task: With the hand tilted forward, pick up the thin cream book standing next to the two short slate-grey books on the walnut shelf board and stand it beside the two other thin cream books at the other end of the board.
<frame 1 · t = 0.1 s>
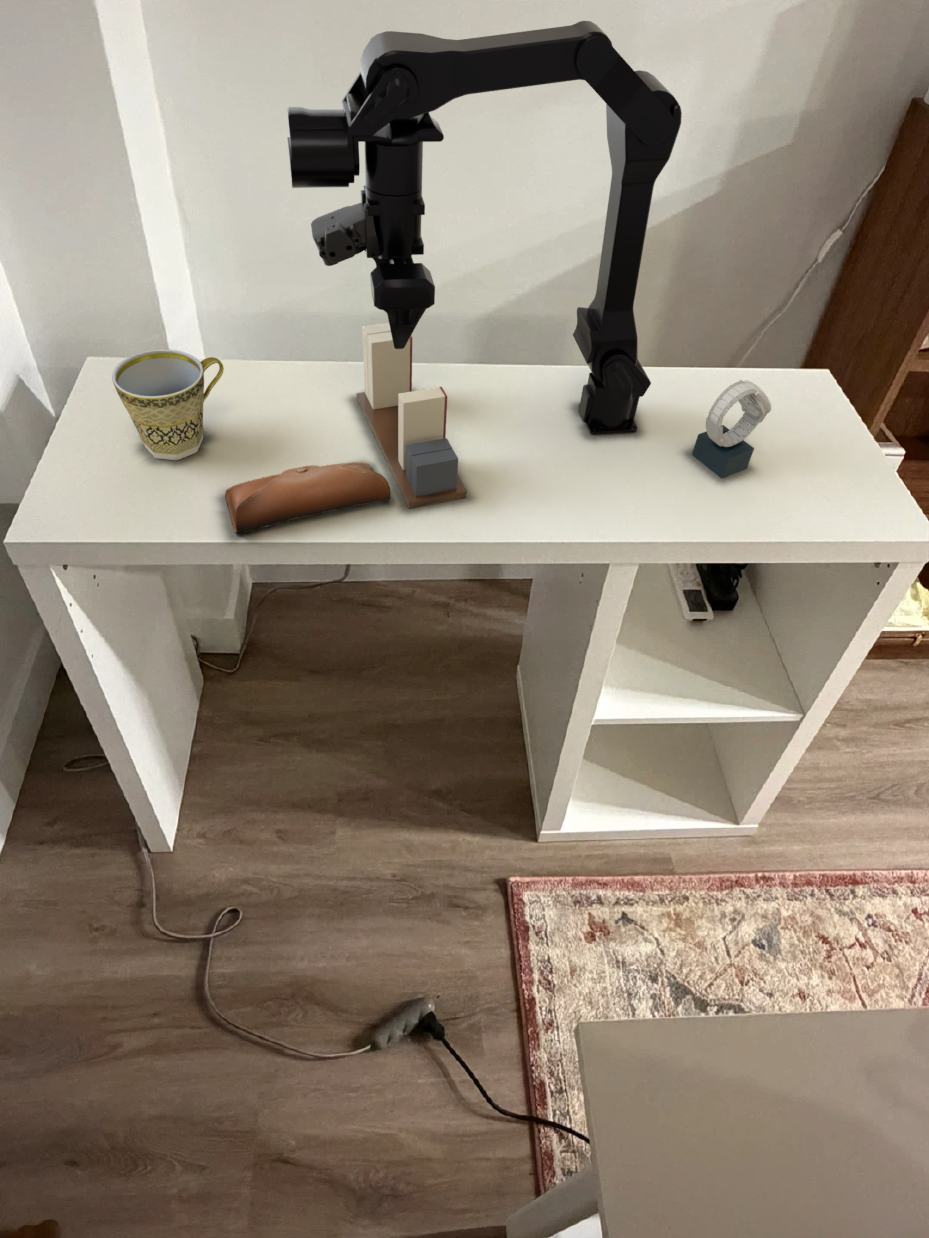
hand: (394, 326, 98), 15 cm above the table, tool pointing down, fingers open, 9 cm apart
white book: (420, 462, 104), point 1 cm above the table, touching shelf board
sunglasses case: (306, 501, 100), on the table
ceramic cup: (186, 441, 106), on the table
white books: (387, 404, 113), resting on shelf board
grey books: (430, 489, 102), resting on shelf board
shelf board: (408, 446, 108), on the table
watch: (719, 462, 109), on the table
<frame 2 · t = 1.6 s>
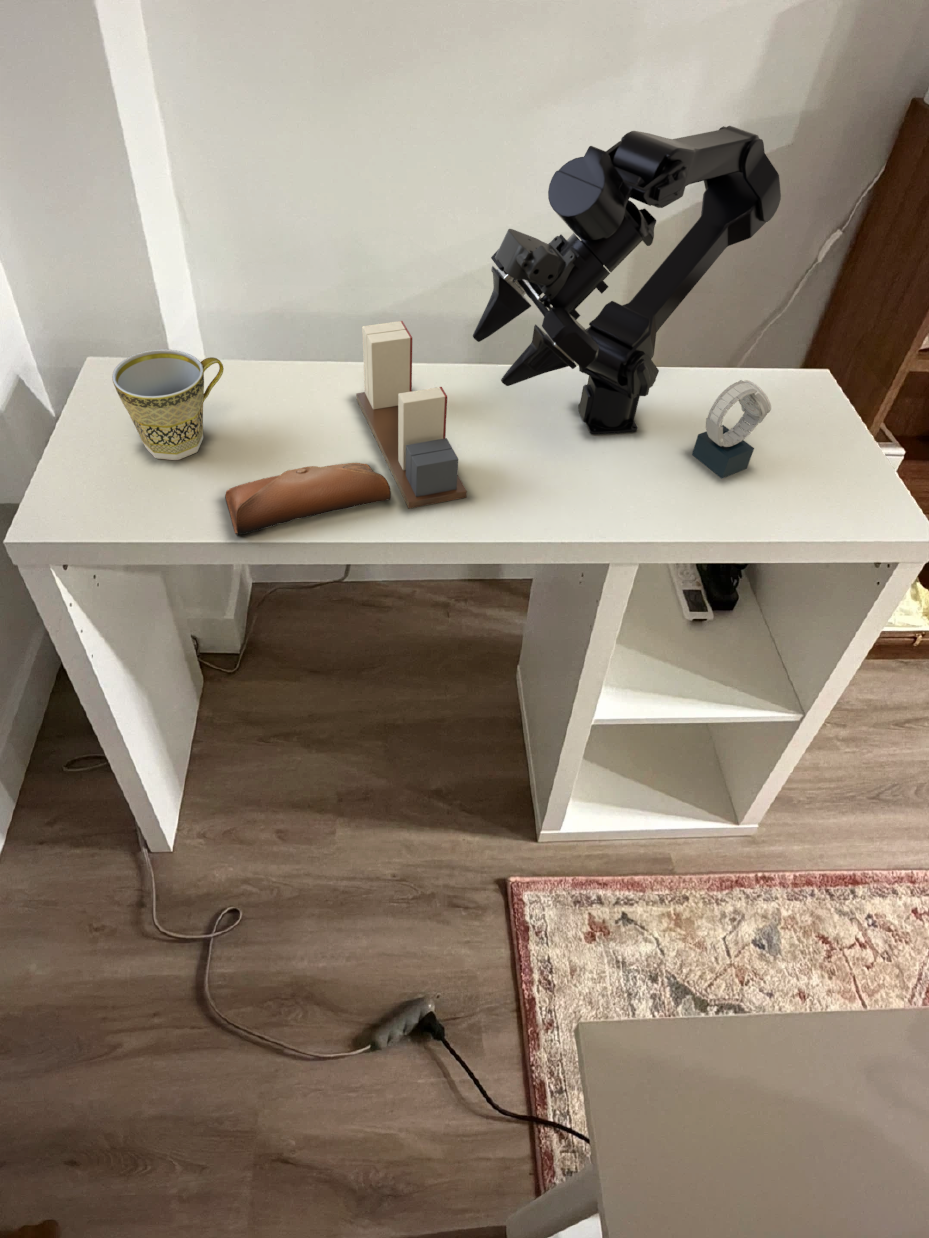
hand: (489, 360, 97), 13 cm above the table, tool tilted 45°, fingers open, 9 cm apart
nothing on the table moved.
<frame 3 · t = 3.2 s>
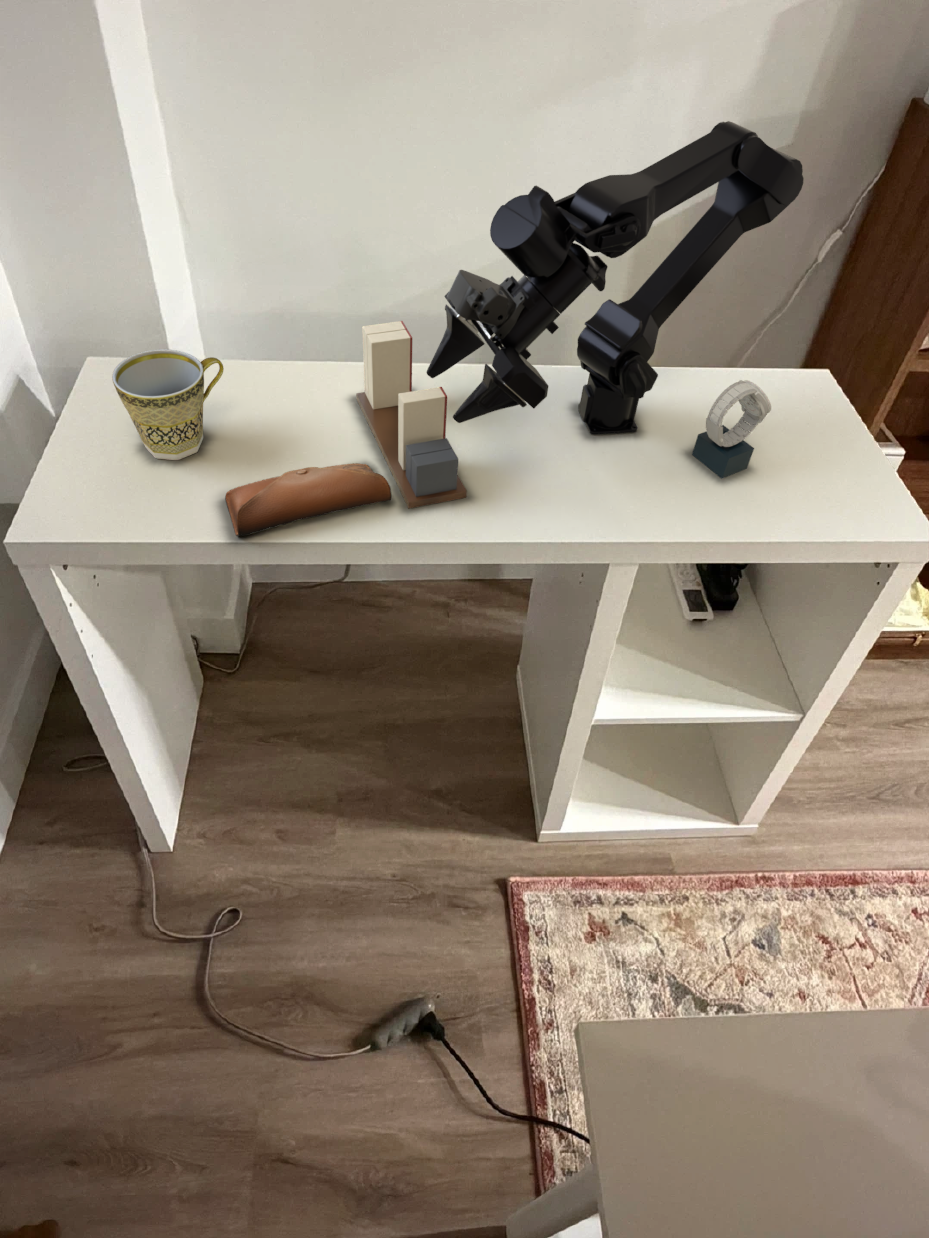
hand: (441, 397, 98), 10 cm above the table, tool tilted 45°, fingers open, 9 cm apart
nothing on the table moved.
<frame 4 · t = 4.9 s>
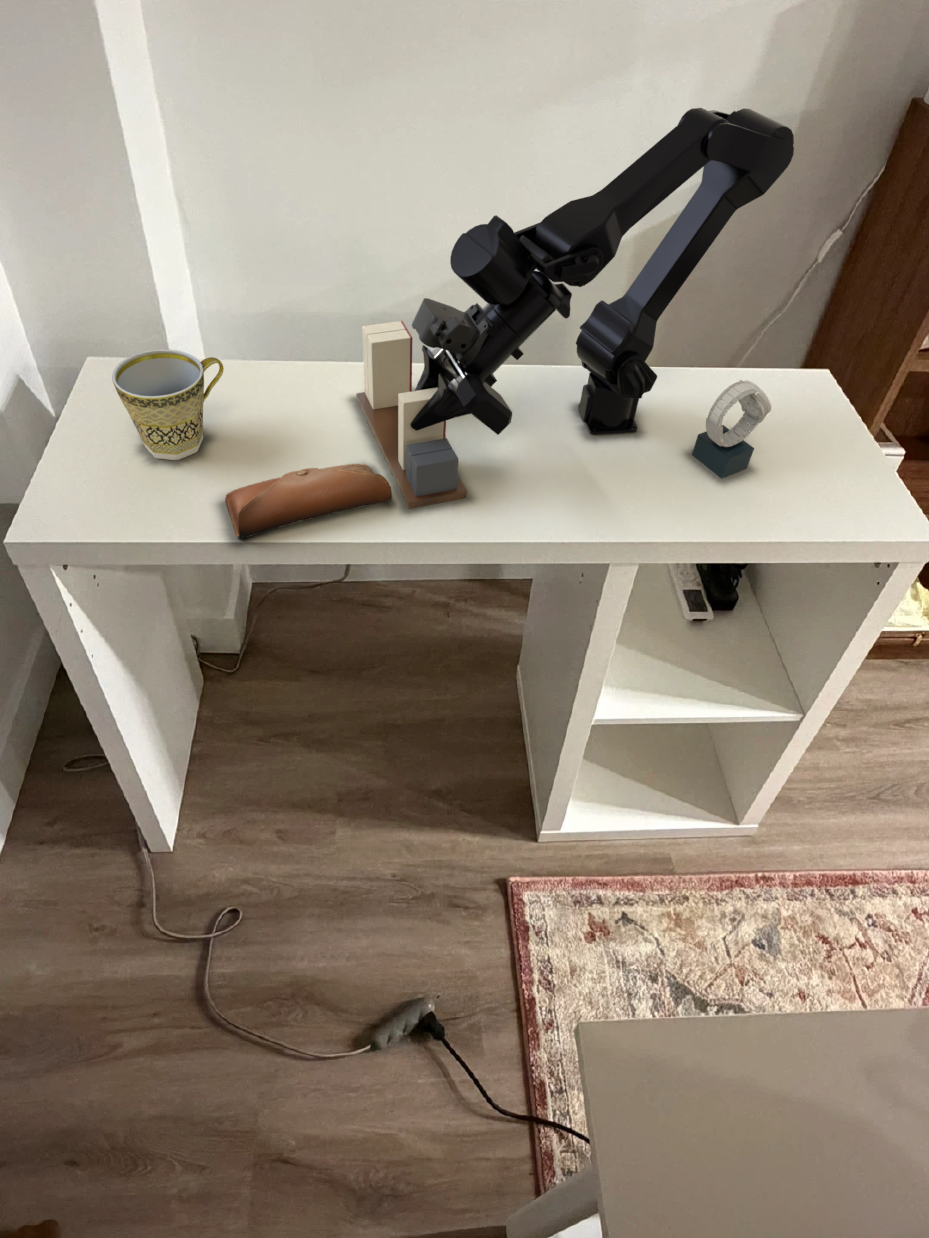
hand: (409, 422, 99), 7 cm above the table, tool tilted 45°, fingers closed on white book, 2 cm apart
white book: (420, 462, 104), point 1 cm above the table, touching gripper, shelf board
everything else where it was.
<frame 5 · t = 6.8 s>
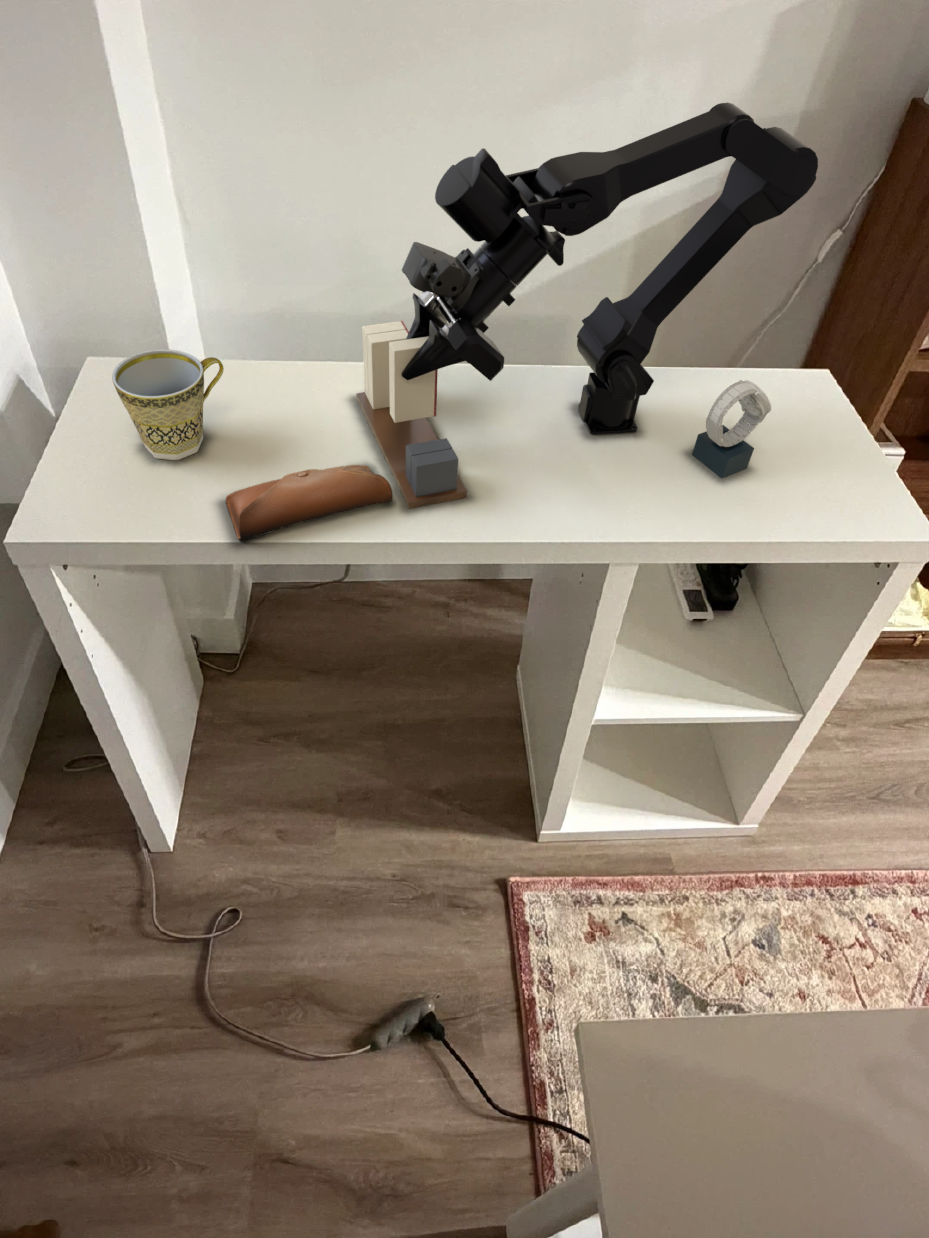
hand: (400, 372, 98), 11 cm above the table, tool tilted 45°, fingers closed on white book
white book: (412, 415, 103), point 5 cm above the table, touching gripper
everything else where it was.
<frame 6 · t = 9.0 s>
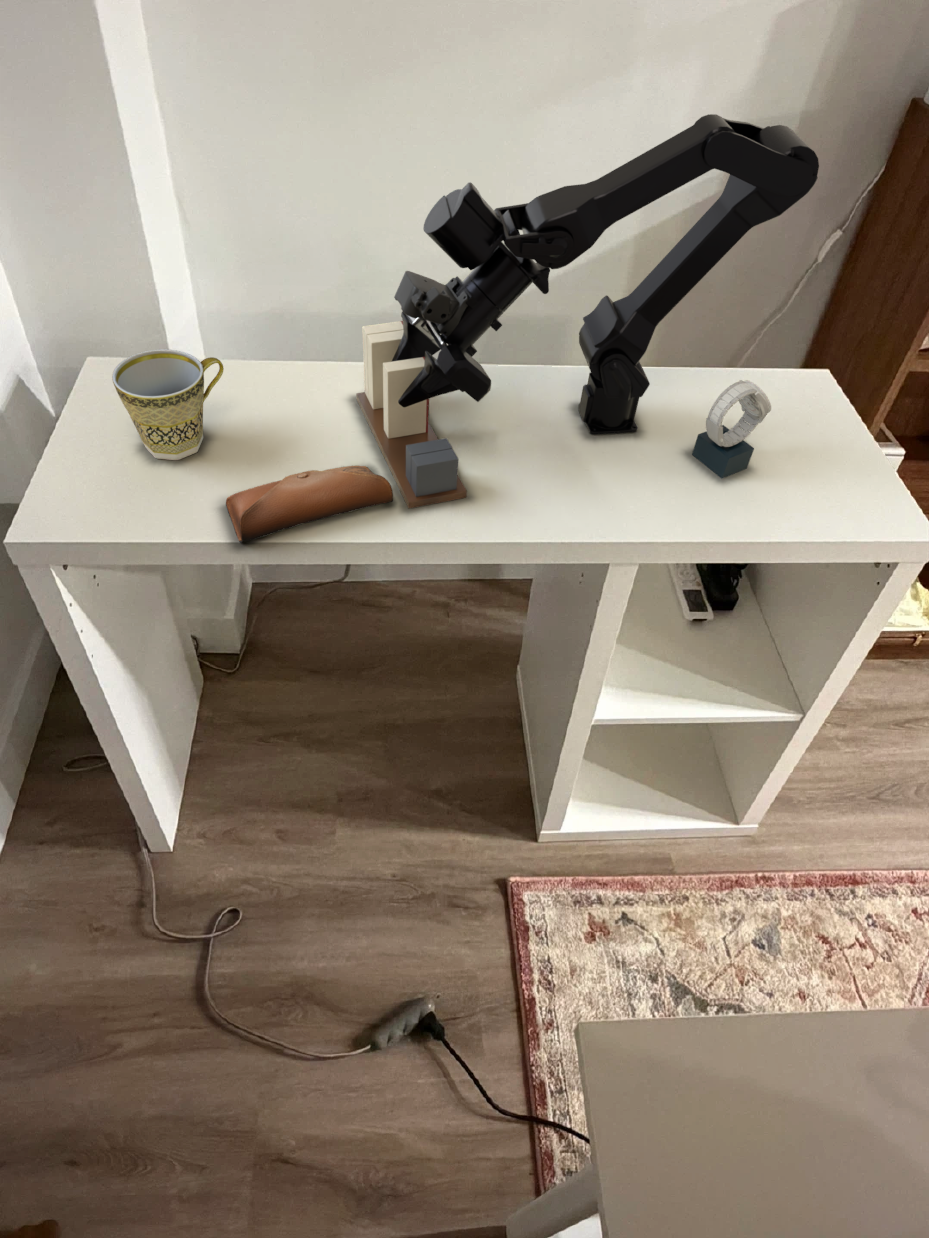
hand: (393, 392, 103), 7 cm above the table, tool tilted 45°, fingers open, 5 cm apart
white book: (405, 431, 108), point 1 cm above the table, touching shelf board
everything else where it was.
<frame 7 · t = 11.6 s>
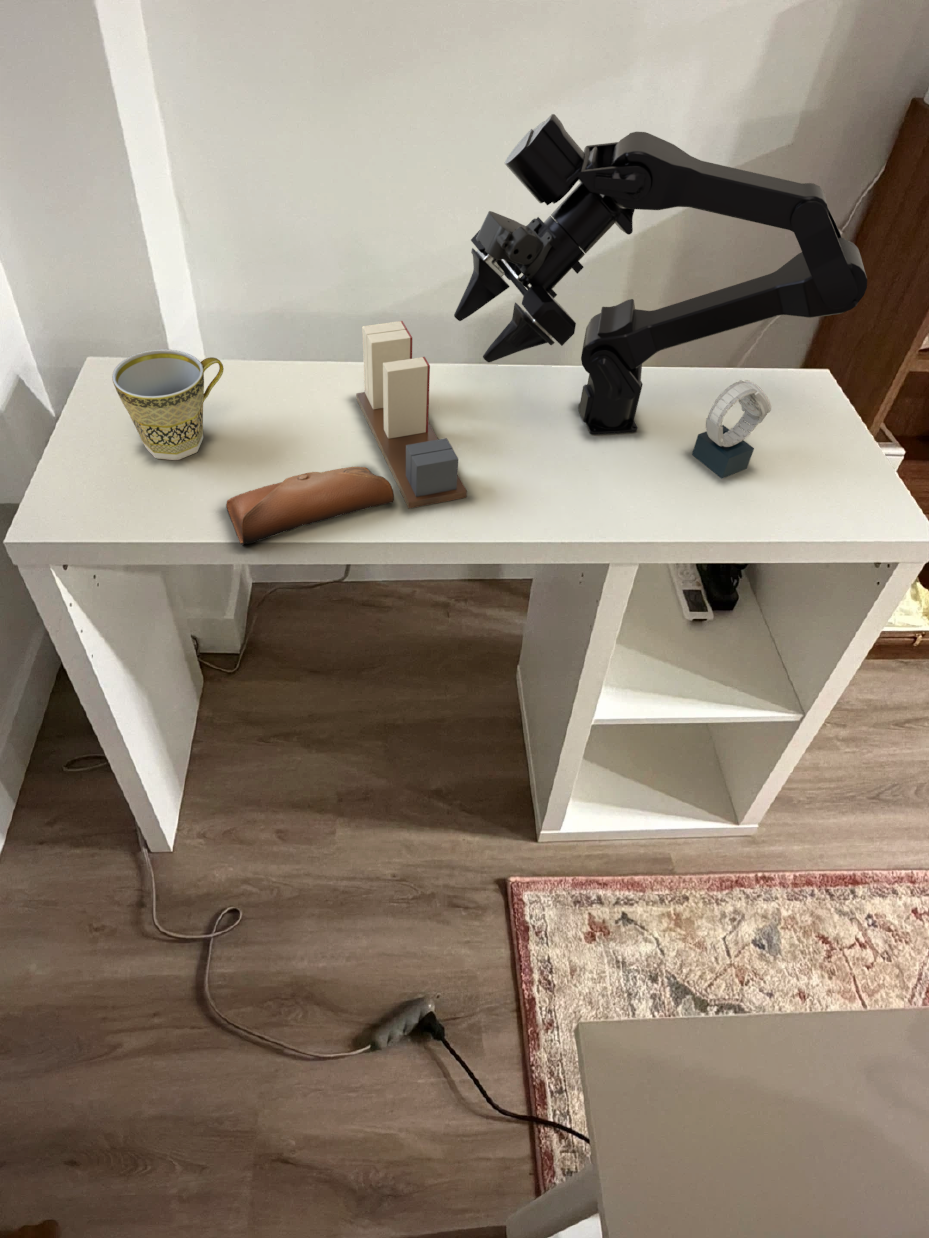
hand: (470, 338, 102), 13 cm above the table, tool tilted 45°, fingers open, 9 cm apart
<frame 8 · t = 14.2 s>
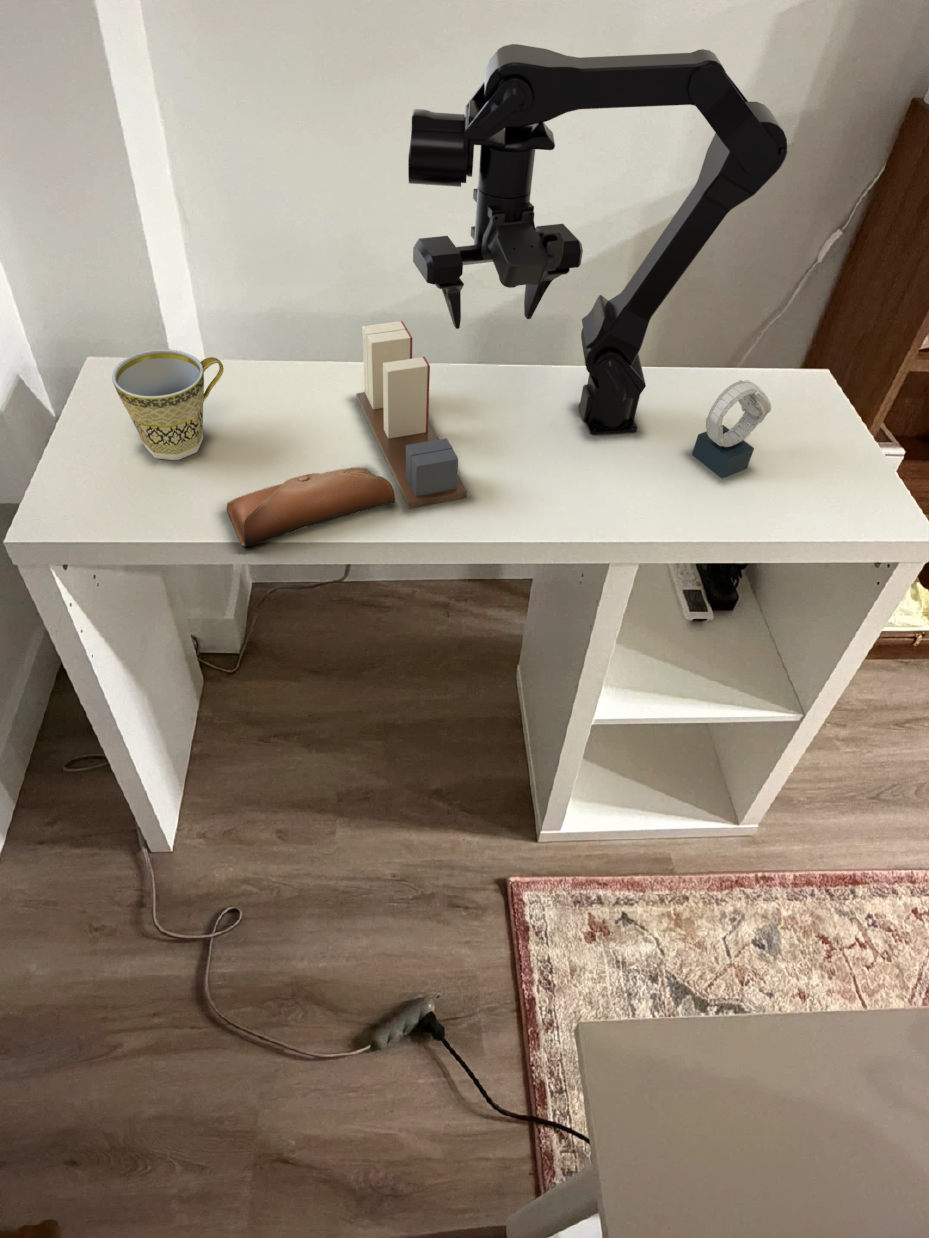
hand: (492, 322, 104), 13 cm above the table, tool pointing down, fingers open, 9 cm apart
at the end: white book 7.5 cm from the white books (horizontally); white book tilted 0°; white book point 1.0 cm above the table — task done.
